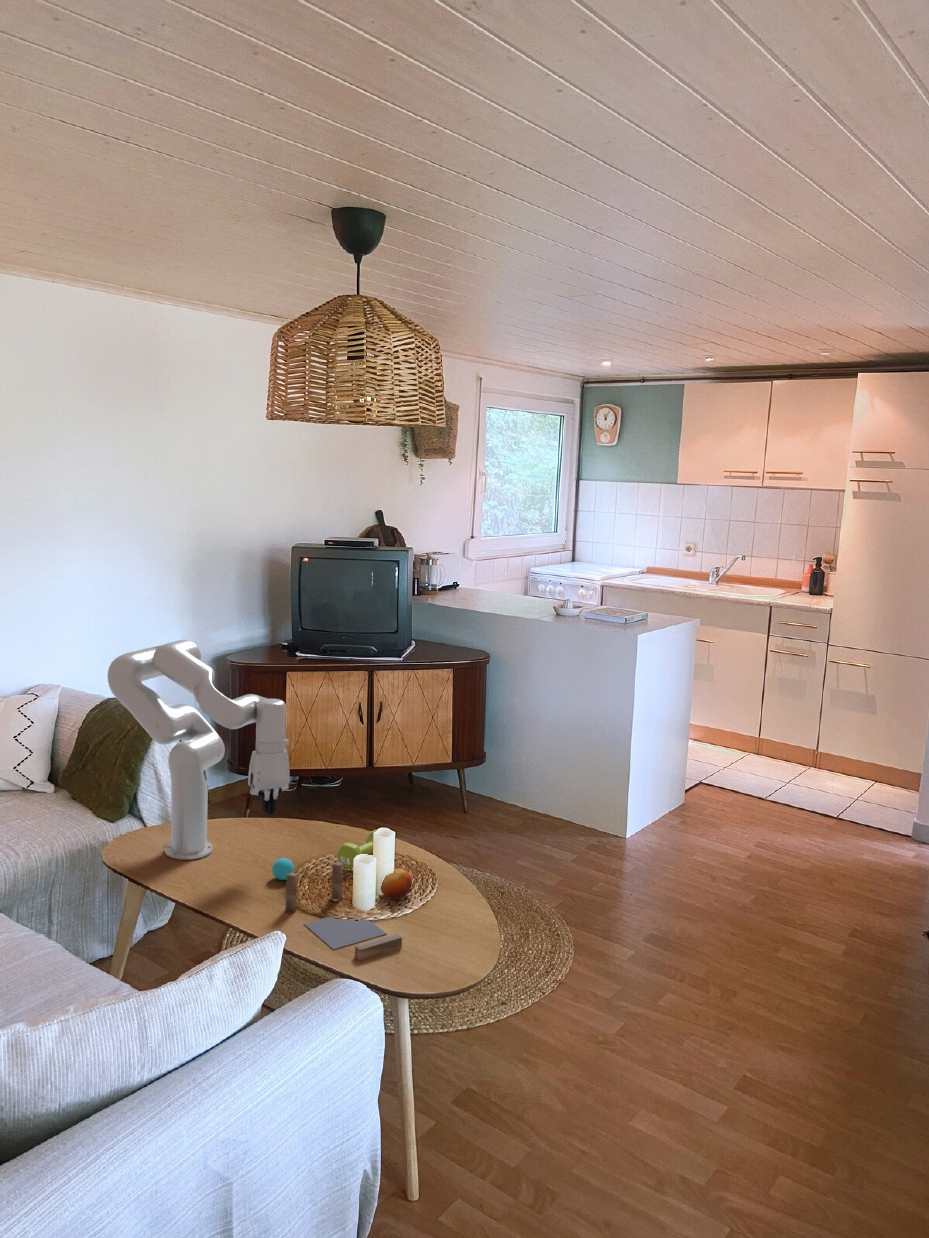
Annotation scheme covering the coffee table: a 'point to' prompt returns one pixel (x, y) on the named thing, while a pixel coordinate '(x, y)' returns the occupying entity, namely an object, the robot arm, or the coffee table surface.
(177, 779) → the robot arm
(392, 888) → the fruit
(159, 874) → the coffee table surface
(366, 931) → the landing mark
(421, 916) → the coffee table surface
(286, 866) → the ball
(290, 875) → the post
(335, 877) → the post
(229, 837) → the coffee table surface
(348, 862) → the dumbbell
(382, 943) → the strip
